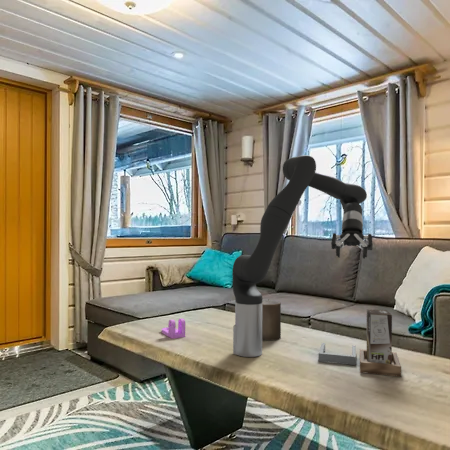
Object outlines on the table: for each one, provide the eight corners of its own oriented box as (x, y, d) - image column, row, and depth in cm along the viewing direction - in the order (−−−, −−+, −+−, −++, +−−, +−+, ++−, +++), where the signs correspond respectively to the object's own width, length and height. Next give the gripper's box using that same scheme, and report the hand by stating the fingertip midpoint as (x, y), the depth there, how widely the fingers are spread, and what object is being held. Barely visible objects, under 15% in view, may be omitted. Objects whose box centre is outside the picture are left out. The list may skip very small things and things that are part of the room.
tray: (360, 372, 119) (360, 362, 119) (359, 358, 133) (359, 349, 133) (401, 376, 116) (401, 366, 116) (396, 361, 129) (396, 352, 129)
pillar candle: (285, 339, 156) (285, 300, 156) (264, 341, 152) (264, 301, 152) (272, 333, 165) (272, 296, 165) (251, 335, 160) (251, 298, 161)
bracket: (185, 337, 158) (185, 319, 158) (172, 339, 155) (172, 320, 155) (172, 330, 169) (172, 313, 169) (159, 331, 166) (159, 314, 166)
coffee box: (392, 369, 119) (392, 315, 120) (369, 367, 121) (369, 313, 121) (387, 360, 128) (387, 309, 129) (366, 358, 130) (366, 308, 130)
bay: (318, 361, 129) (318, 353, 129) (321, 349, 142) (321, 342, 142) (355, 365, 126) (355, 357, 126) (355, 353, 138) (355, 345, 138)
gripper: (332, 217, 154) (330, 248, 142) (372, 217, 149) (373, 249, 138) (333, 231, 159) (330, 262, 147) (371, 232, 154) (372, 264, 143)
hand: (351, 256), depth 143 cm, fingers open, 8 cm apart
